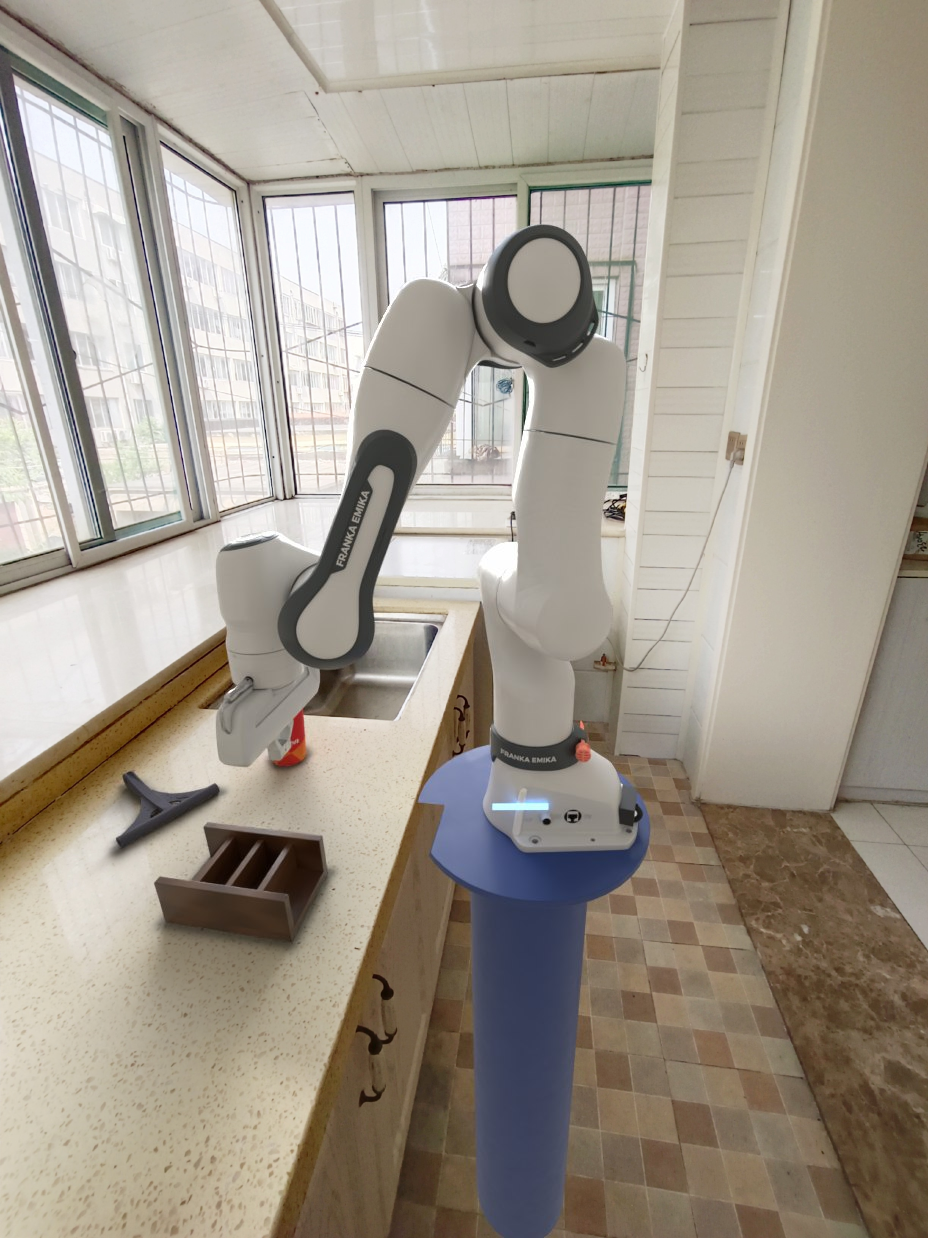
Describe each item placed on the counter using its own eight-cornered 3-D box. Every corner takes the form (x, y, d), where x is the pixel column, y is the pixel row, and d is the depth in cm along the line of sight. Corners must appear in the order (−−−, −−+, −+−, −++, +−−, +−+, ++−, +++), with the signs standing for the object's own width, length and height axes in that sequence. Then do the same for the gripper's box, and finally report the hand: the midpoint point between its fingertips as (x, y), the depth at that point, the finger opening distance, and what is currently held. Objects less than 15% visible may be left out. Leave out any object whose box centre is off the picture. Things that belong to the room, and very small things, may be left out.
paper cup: (256, 765, 92) (243, 692, 87) (284, 741, 98) (273, 672, 94) (296, 774, 89) (284, 699, 84) (321, 748, 96) (312, 677, 91)
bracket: (172, 761, 93) (169, 748, 92) (220, 793, 85) (217, 779, 84) (79, 809, 83) (74, 794, 82) (123, 851, 74) (118, 835, 73)
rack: (328, 872, 70) (322, 835, 68) (291, 942, 61) (284, 901, 58) (216, 858, 73) (207, 821, 70) (165, 922, 63) (153, 883, 61)
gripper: (244, 704, 58) (261, 808, 63) (323, 633, 77) (332, 718, 82) (192, 699, 59) (212, 802, 64) (282, 631, 78) (293, 714, 83)
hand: (280, 754), depth 73 cm, fingers closed
